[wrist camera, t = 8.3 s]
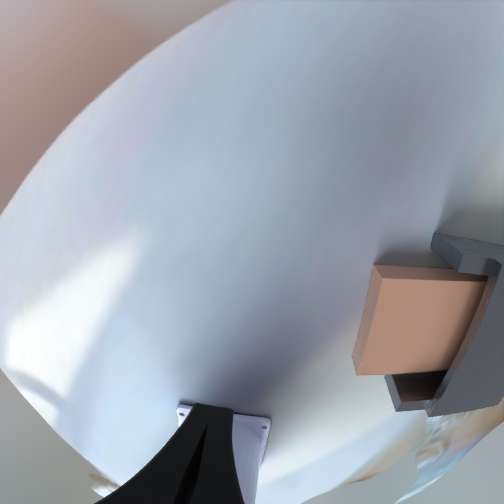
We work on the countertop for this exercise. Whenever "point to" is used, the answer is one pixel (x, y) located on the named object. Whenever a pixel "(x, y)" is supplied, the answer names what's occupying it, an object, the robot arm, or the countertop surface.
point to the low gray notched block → (474, 344)
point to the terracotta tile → (415, 319)
